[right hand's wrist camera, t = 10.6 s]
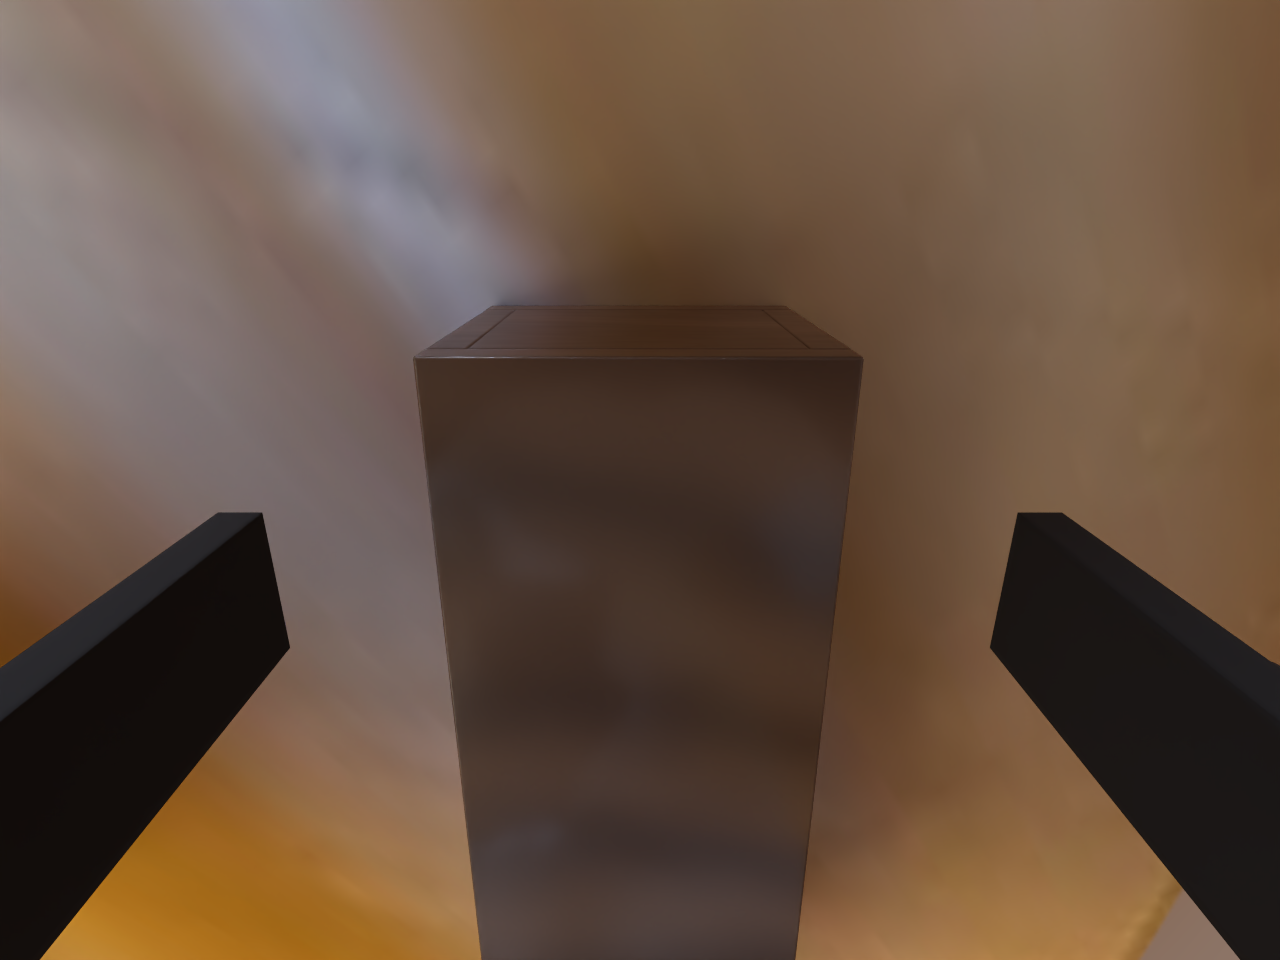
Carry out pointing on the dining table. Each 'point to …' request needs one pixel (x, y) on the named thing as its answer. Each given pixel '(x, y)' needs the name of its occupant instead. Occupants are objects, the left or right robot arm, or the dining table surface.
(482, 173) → the dining table surface
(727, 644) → the cabinet
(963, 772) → the dining table surface
